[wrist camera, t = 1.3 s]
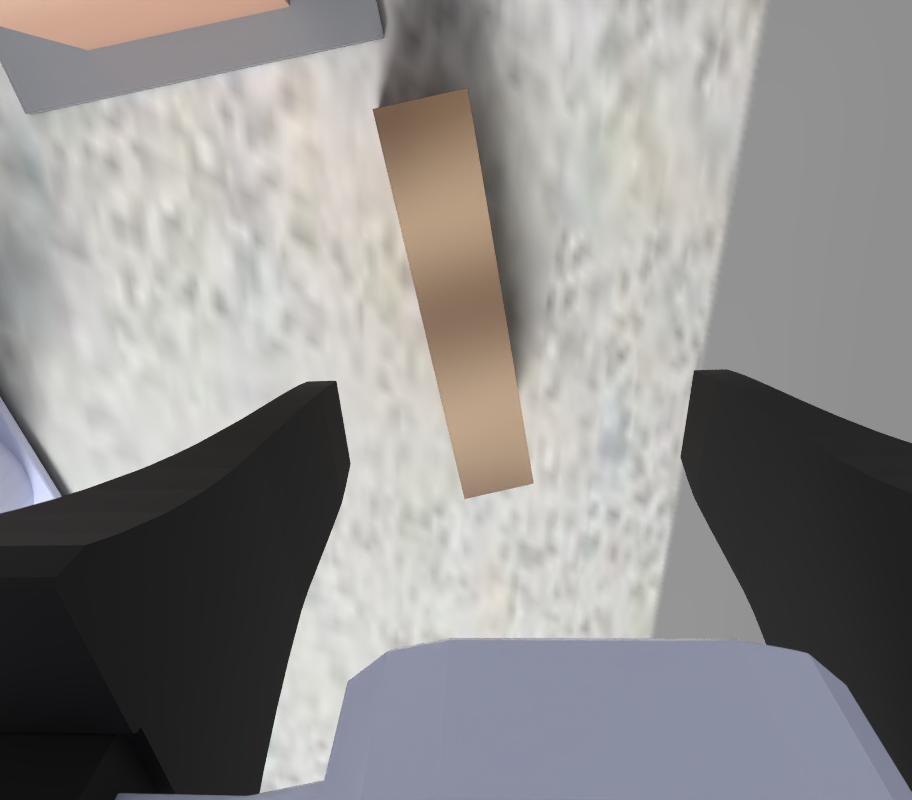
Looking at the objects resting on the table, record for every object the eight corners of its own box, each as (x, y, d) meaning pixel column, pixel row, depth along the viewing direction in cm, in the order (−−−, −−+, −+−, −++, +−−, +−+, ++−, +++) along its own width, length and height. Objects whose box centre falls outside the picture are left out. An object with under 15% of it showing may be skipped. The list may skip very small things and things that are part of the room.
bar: (507, 416, 24) (533, 483, 19) (451, 429, 24) (464, 498, 19) (449, 98, 18) (467, 88, 14) (377, 114, 18) (372, 109, 14)
